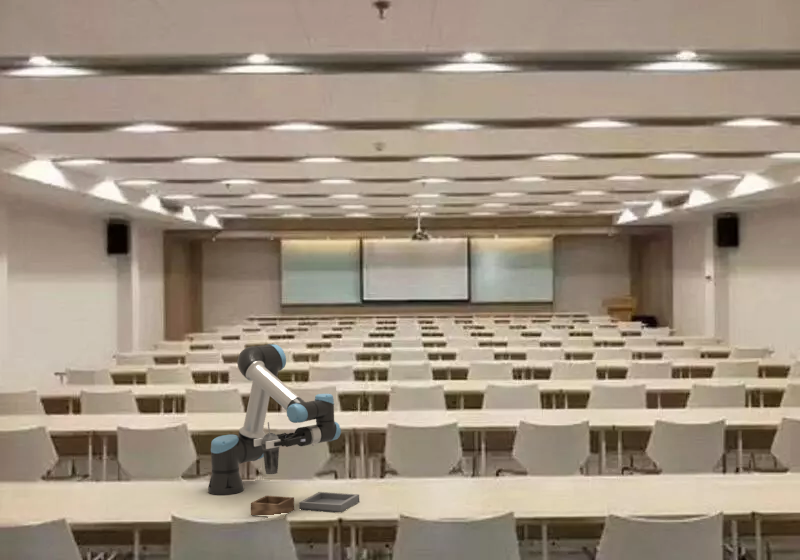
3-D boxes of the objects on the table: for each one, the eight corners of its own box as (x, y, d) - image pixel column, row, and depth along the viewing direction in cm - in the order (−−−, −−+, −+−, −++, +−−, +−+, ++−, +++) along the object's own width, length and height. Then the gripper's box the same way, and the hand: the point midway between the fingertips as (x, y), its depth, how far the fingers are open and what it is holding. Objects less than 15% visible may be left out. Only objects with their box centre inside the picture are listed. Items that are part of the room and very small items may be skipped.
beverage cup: (284, 471, 383) (283, 421, 383) (273, 475, 377) (271, 423, 377) (270, 470, 387) (268, 419, 387) (258, 474, 381) (256, 422, 381)
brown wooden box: (250, 515, 379) (250, 502, 379) (266, 508, 390) (266, 495, 390) (279, 518, 374) (279, 504, 374) (294, 510, 386) (293, 497, 386)
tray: (299, 509, 386) (299, 502, 386) (319, 499, 403) (319, 491, 403) (340, 512, 380) (340, 505, 380) (359, 501, 396) (359, 494, 396)
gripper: (323, 448, 387) (276, 457, 371) (292, 442, 402) (245, 450, 386) (322, 429, 387) (275, 437, 371) (291, 423, 402) (245, 431, 386)
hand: (260, 444), depth 379 cm, fingers closed on beverage cup, 7 cm apart
